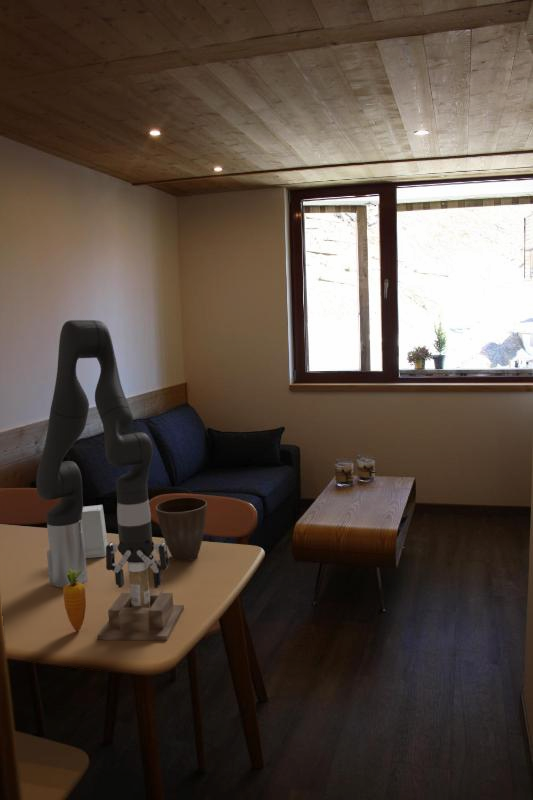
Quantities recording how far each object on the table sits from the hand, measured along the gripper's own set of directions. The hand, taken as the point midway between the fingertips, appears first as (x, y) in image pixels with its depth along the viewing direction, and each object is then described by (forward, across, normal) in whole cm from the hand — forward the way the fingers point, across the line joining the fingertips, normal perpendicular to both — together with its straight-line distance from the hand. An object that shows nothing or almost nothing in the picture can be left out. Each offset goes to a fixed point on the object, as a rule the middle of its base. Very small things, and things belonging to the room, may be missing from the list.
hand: (139, 586), depth 163 cm
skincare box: (+10, -29, +45) cm, 54 cm away
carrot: (+9, -14, -4) cm, 17 cm away
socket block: (+9, 0, 0) cm, 9 cm away
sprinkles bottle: (+7, 0, 0) cm, 7 cm away
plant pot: (+10, 0, +43) cm, 44 cm away
